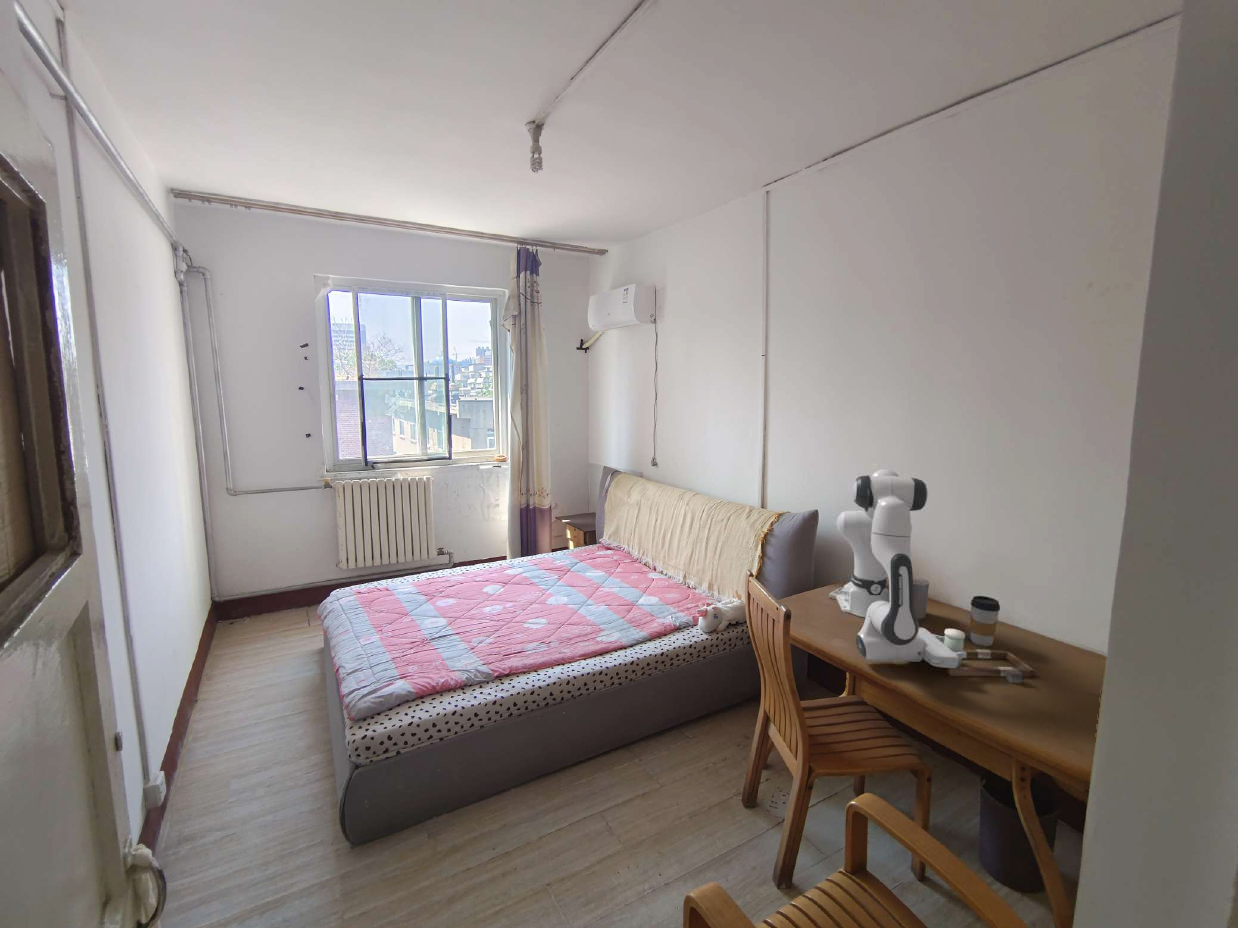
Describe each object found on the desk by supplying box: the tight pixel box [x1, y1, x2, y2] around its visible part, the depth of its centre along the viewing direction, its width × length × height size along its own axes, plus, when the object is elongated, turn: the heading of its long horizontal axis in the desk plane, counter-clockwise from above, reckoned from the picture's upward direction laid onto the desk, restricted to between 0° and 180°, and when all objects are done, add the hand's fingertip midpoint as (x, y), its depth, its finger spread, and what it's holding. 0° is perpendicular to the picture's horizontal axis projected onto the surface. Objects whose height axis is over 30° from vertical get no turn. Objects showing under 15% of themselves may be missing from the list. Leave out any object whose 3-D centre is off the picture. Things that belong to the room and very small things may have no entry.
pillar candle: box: [913, 575, 930, 620], centre depth 214 cm, size 10×10×15 cm
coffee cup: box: [969, 595, 1001, 647], centre depth 191 cm, size 8×8×15 cm
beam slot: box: [946, 649, 1036, 684], centre depth 174 cm, size 16×25×3 cm, turn 89°
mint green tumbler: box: [944, 628, 966, 667], centre depth 176 cm, size 5×5×11 cm
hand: (956, 646), depth 176 cm, fingers open, 8 cm apart
